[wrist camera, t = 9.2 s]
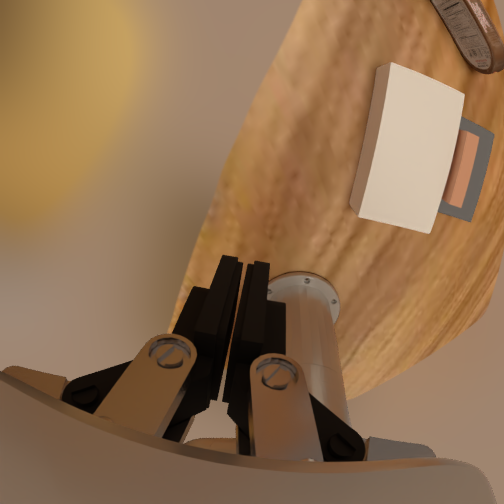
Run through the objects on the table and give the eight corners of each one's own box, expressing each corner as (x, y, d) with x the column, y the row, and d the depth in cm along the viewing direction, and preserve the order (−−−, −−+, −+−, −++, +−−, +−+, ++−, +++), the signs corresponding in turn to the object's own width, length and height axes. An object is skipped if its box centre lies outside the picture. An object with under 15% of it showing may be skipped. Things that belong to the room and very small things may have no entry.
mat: (469, 221, 35) (470, 222, 34) (418, 205, 35) (419, 206, 35) (493, 133, 28) (494, 134, 28) (442, 107, 28) (443, 108, 28)
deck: (414, 219, 36) (429, 233, 31) (348, 203, 36) (358, 217, 31) (444, 94, 28) (464, 94, 23) (376, 67, 28) (391, 62, 23)
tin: (481, 72, 25) (518, 70, 17) (468, 77, 26) (505, 76, 18) (428, -21, 20) (456, -40, 12) (413, -18, 20) (439, -39, 13)
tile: (427, 189, 33) (439, 193, 33) (449, 204, 28) (461, 208, 28) (442, 126, 29) (454, 131, 29) (467, 131, 24) (479, 137, 24)
